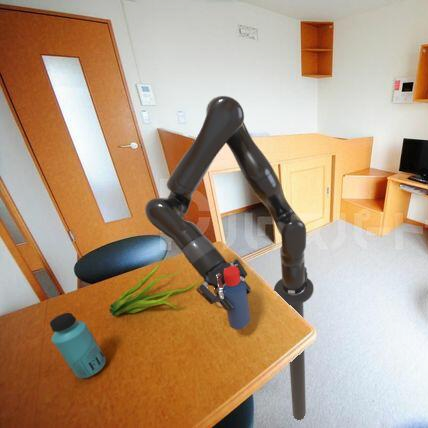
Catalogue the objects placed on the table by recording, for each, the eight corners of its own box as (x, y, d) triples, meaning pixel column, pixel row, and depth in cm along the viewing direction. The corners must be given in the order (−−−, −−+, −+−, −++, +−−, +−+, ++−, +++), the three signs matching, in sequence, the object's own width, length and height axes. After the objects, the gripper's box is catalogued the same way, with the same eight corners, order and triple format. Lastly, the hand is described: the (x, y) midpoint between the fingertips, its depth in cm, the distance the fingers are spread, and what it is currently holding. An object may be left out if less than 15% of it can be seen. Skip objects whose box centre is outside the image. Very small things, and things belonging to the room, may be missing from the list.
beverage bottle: (97, 382, 63) (63, 329, 54) (70, 384, 62) (32, 330, 54) (114, 358, 69) (86, 307, 60) (90, 359, 68) (58, 308, 60)
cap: (236, 274, 68) (234, 264, 67) (243, 281, 66) (241, 270, 64) (222, 281, 66) (220, 270, 64) (229, 288, 63) (227, 277, 61)
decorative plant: (199, 316, 82) (190, 283, 76) (109, 320, 80) (92, 287, 74) (216, 281, 99) (210, 251, 92) (141, 284, 96) (129, 253, 90)
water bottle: (244, 309, 76) (236, 262, 68) (254, 320, 72) (247, 272, 64) (225, 320, 72) (215, 271, 64) (235, 333, 68) (225, 283, 60)
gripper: (184, 264, 59) (227, 316, 60) (228, 238, 71) (263, 281, 71) (176, 274, 64) (215, 322, 64) (218, 248, 75) (251, 289, 76)
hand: (240, 300), depth 68 cm, fingers closed on water bottle, 6 cm apart
